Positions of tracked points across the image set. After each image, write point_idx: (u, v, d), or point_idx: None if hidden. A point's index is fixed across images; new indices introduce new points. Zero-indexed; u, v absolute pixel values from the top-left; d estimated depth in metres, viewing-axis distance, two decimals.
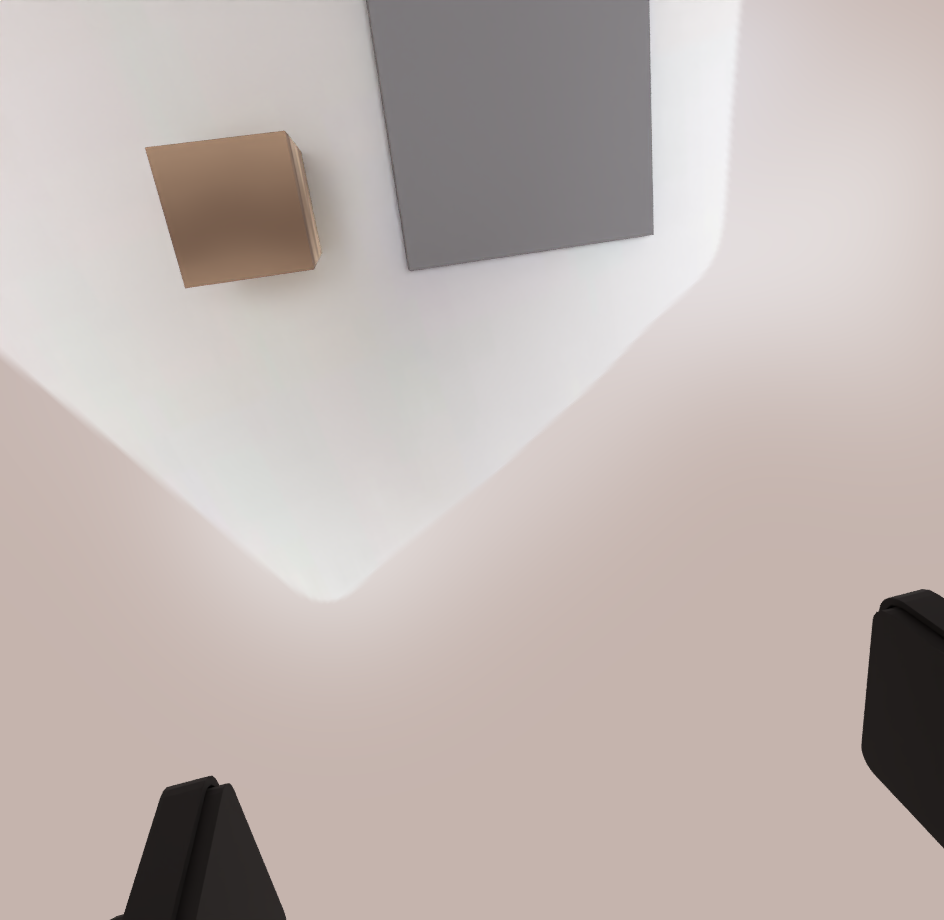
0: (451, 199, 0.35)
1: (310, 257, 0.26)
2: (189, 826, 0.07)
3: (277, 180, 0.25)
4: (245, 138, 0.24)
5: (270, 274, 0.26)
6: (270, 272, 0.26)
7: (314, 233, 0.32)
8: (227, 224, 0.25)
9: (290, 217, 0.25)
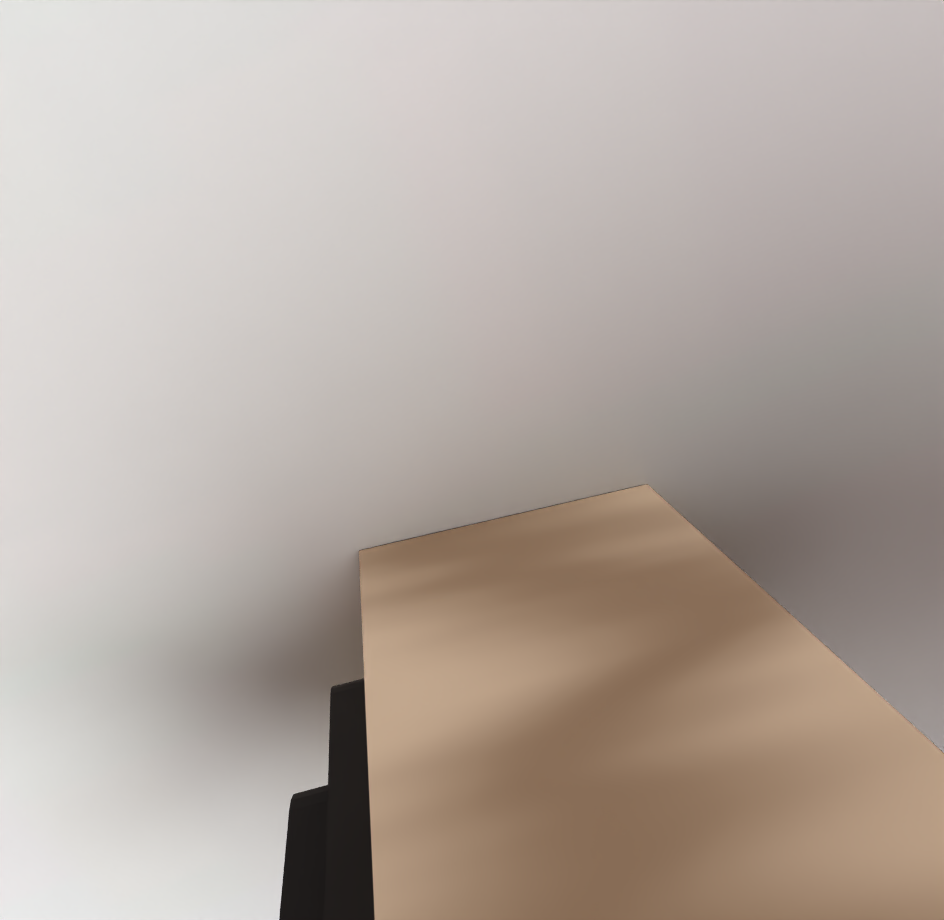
0: None
1: None
2: (364, 713, 0.09)
3: None
4: None
5: None
6: None
7: None
8: None
9: None
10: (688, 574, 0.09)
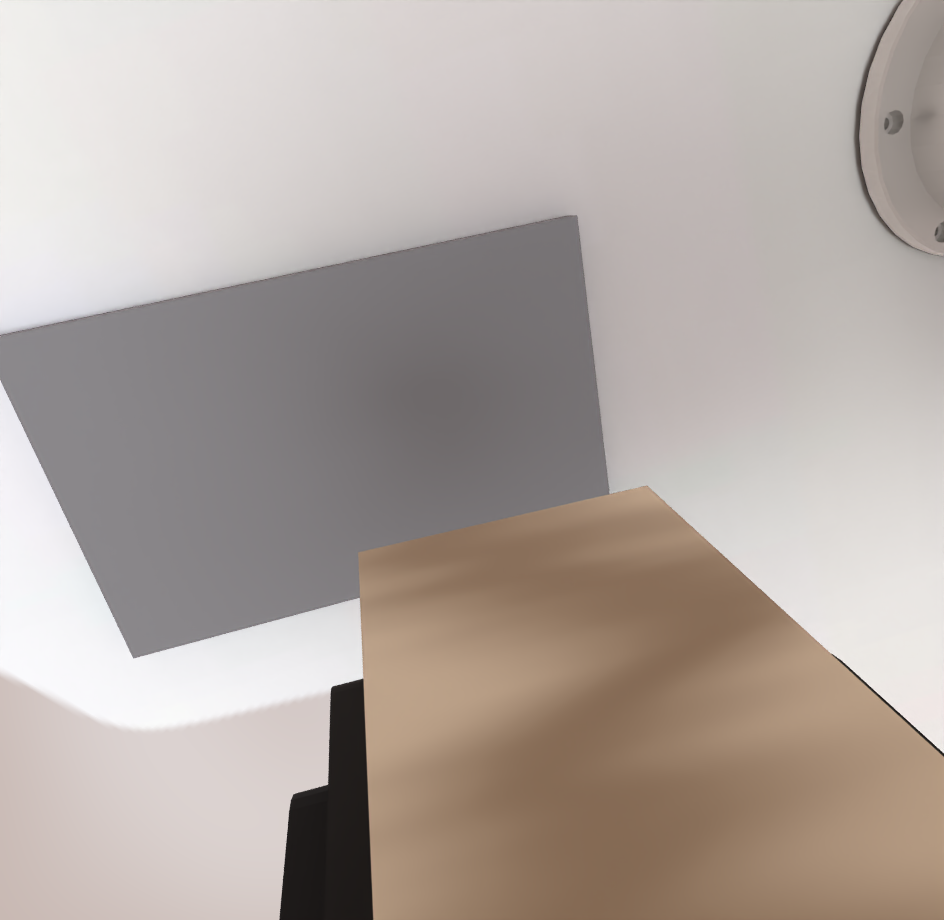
0: (108, 393, 0.24)
1: None
2: (363, 712, 0.09)
3: None
4: None
5: None
6: None
7: None
8: None
9: None
10: (688, 575, 0.09)
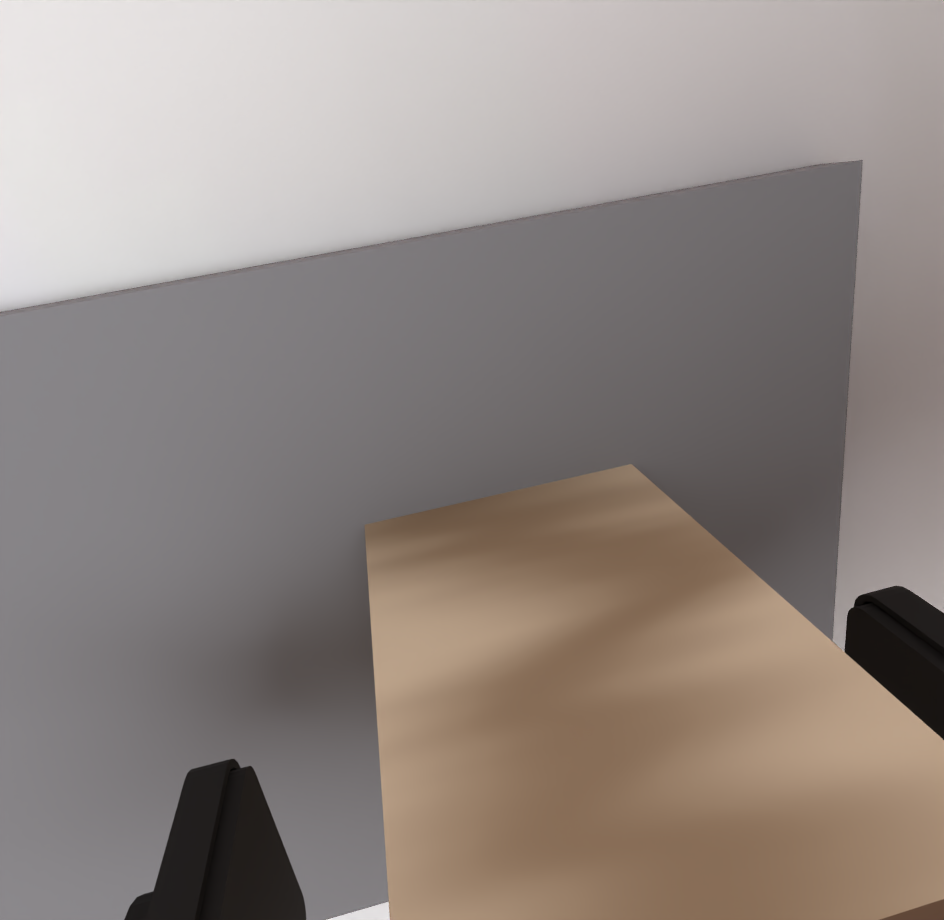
0: None
1: None
2: (214, 806, 0.08)
3: None
4: None
5: None
6: None
7: None
8: None
9: None
10: (664, 540, 0.10)
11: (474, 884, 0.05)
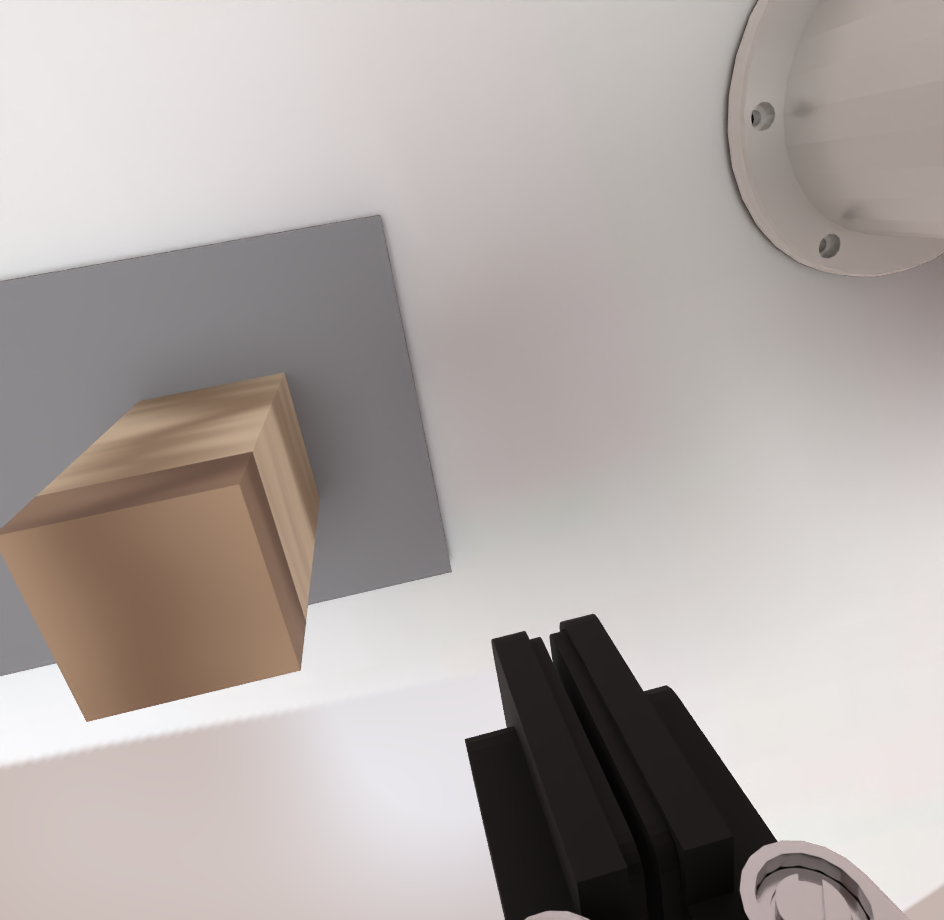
0: None
1: (106, 714, 0.15)
2: (533, 661, 0.09)
3: (223, 665, 0.15)
4: (280, 621, 0.15)
5: (59, 664, 0.15)
6: (63, 663, 0.15)
7: None
8: (133, 600, 0.14)
9: (168, 685, 0.15)
10: (255, 396, 0.20)
11: (84, 472, 0.16)
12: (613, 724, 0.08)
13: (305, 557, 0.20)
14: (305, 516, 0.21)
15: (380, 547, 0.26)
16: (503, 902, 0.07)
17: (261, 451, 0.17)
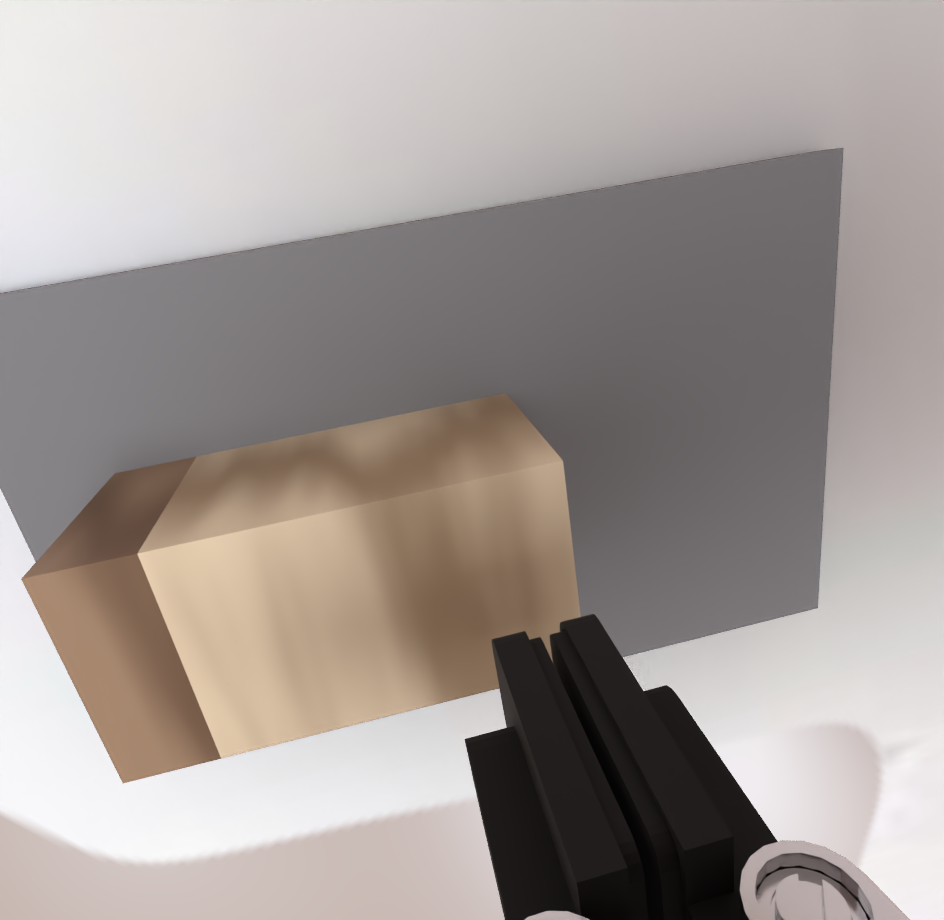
0: (116, 399, 0.16)
1: None
2: (533, 661, 0.09)
3: None
4: (98, 726, 0.13)
5: None
6: None
7: None
8: None
9: None
10: (421, 477, 0.13)
11: (235, 457, 0.16)
12: (613, 724, 0.08)
13: (326, 706, 0.14)
14: (408, 667, 0.14)
15: (745, 578, 0.21)
16: (503, 902, 0.07)
17: (193, 558, 0.12)
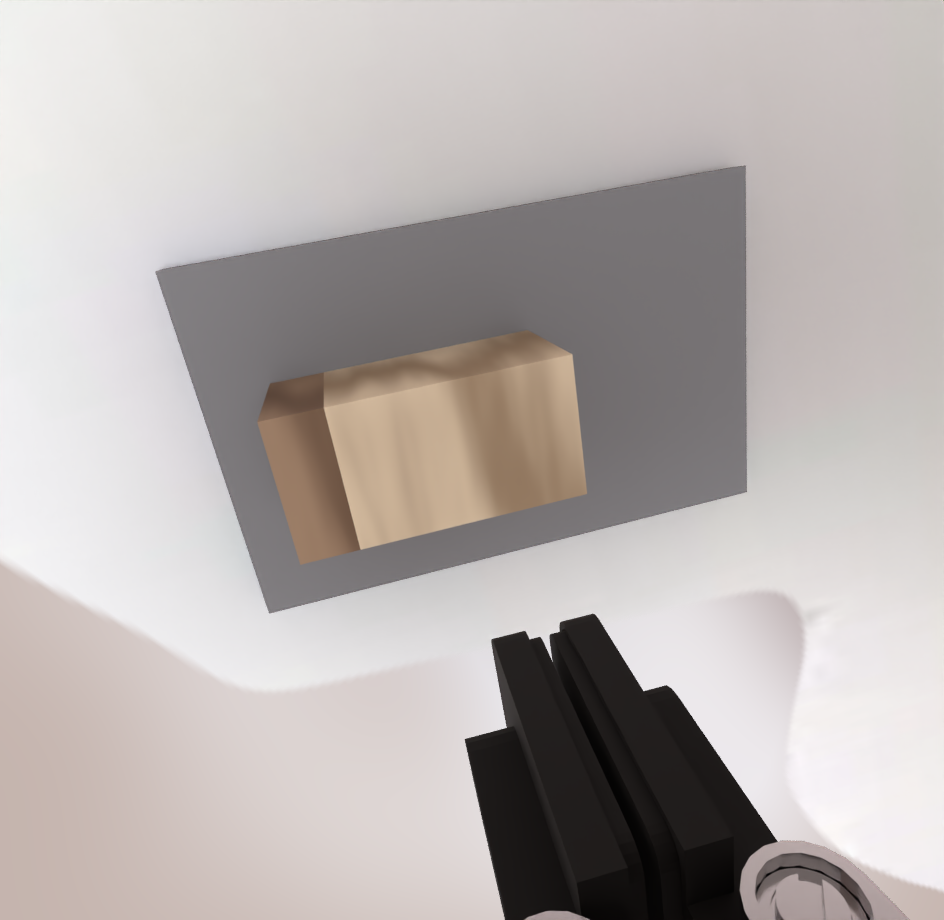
0: (275, 332, 0.24)
1: None
2: (533, 660, 0.09)
3: None
4: (288, 524, 0.21)
5: None
6: None
7: None
8: None
9: None
10: (486, 367, 0.21)
11: (353, 370, 0.24)
12: (613, 724, 0.08)
13: (426, 515, 0.22)
14: (477, 490, 0.22)
15: (694, 468, 0.29)
16: (503, 902, 0.07)
17: (355, 412, 0.20)
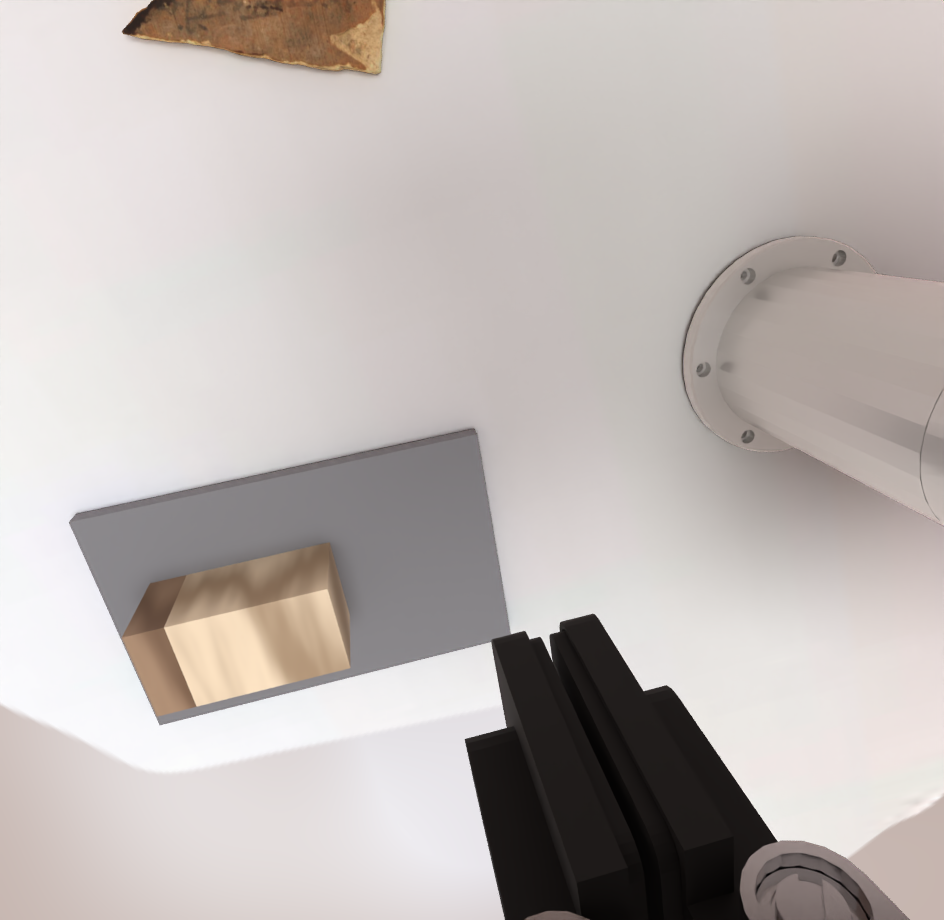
0: (151, 552, 0.36)
1: None
2: (533, 661, 0.09)
3: None
4: (147, 693, 0.33)
5: None
6: None
7: None
8: None
9: None
10: (274, 594, 0.33)
11: (203, 577, 0.36)
12: (613, 723, 0.08)
13: (239, 685, 0.34)
14: (272, 669, 0.34)
15: (467, 622, 0.41)
16: (503, 902, 0.07)
17: (184, 629, 0.32)
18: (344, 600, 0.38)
